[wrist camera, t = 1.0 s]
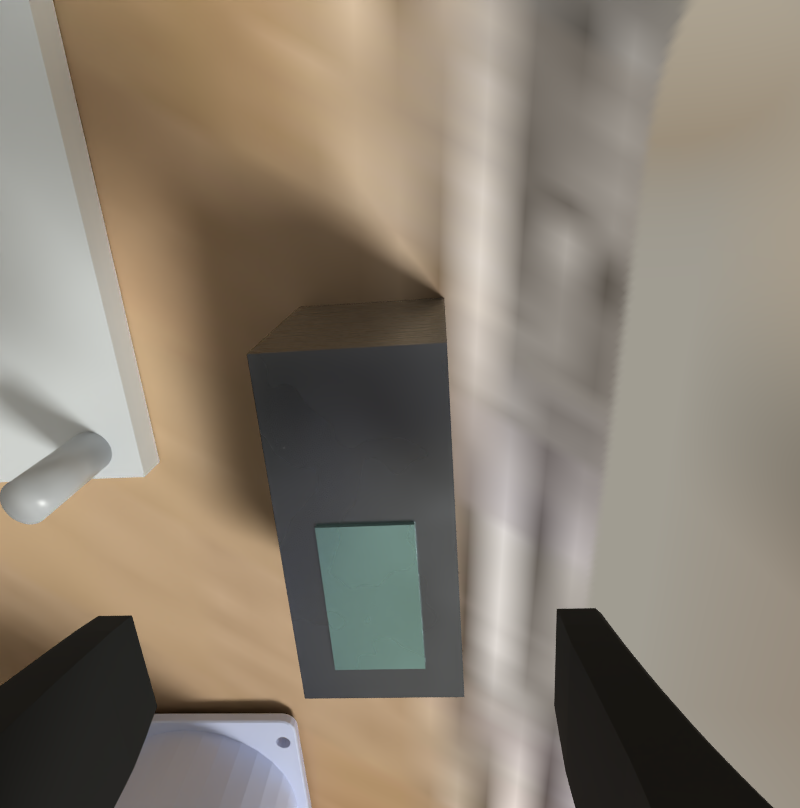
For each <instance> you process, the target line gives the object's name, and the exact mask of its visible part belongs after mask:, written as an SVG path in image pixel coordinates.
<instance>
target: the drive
mask: <svg viewBox="0 0 800 808" xmlns="http://www.w3.org/2000/svg"><path fill="white" fill-rule="evenodd" d="M247 358H248V364H249V370H250V376H251V382H252V388H253V393H254V399H255V405H256V411H257V417H258V423H259V429H260V435H261V441H262V447H263V453H264V459H265V464H266V470H267V476H268V482H269V488H270V494H271V500H272V506H273V512H274V518H275V524H276V530H277V536H278V541H279V547H280V553H281V559H282V565H283V571H284V577H285V583H286V589H287V595H288V601H289V607H290V612H291V618H292V624H293V630H294V636H295V642H296V648H297V654H298V660H299V666H300V672H301V678H302V683H303V689H304V695H305V699H306V698H404V697H464V682H463V662H462V642H461V621H460V601H459V581H458V560H457V540H456V520H455V499H454V479H453V459H452V439H451V418H450V398H449V378H448V357H447V338H446V322H445V305H444V298H434V299H418V300H402V301H387V302H371V303H356V304H340V305H324V306H309V307H299V308H298V309H297V310H296V311H295V312H293V313H292V314H291V315H290V316H289V317H288V318H287V319H286V320H285V321H283V322H282V323H281V324H280V325H279V326H278V327H277V328H276V329H274V330H273V331H272V332H271V333H270V334H269V335H268V336H267V337H266V338H264V339H263V340H262V341H261V342H260V343H259V344H258V345H257V346H256V347H254V348H253V349H252V350H251V351H250V352H249V353H248V354H247Z"/></svg>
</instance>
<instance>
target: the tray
mask: <svg viewBox="0 0 800 808" xmlns="http://www.w3.org/2000/svg"><path fill="white" fill-rule="evenodd" d="M159 462H160V461H159V457H158V452H157V448H156V444H155V439H154V435H153V431H152V426H151V422H150V418H149V413H148V409H147V405H146V400H145V396H144V392H143V387H142V383H141V379H140V375H139V370H138V366H137V362H136V357H135V353H134V349H133V344H132V340H131V336H130V331H129V327H128V323H127V318H126V314H125V310H124V305H123V301H122V297H121V292H120V288H119V284H118V279H117V275H116V271H115V267H114V262H113V258H112V254H111V249H110V245H109V241H108V236H107V232H106V228H105V223H104V219H103V215H102V210H101V206H100V202H99V197H98V193H97V189H96V184H95V180H94V176H93V172H92V167H91V163H90V159H89V154H88V150H87V146H86V141H85V137H84V133H83V128H82V124H81V120H80V115H79V111H78V107H77V102H76V98H75V94H74V89H73V85H72V81H71V76H70V72H69V68H68V64H67V59H66V55H65V51H64V46H63V42H62V38H61V33H60V29H59V25H58V20H57V16H56V12H55V7H54V3H53V0H0V482H9V483H7V484H6V485H5V486H4V487H3V488H2V490H1V492H0V502H1V505H2V507H3V509H4V510H5V512H6V513H7V514H8V515H9V516H10V517H12V518H13V519H15V520H16V521H18V522H21V523H24V524H36V523H39V522H41V521H43V520H44V519H45V518H46V517H47V516H48V515H50V514H51V513H52V512H53V511H54V510H56V509H57V508H58V507H59V506H60V505H61V504H63V503H64V502H65V501H66V500H67V499H68V498H70V497H71V496H72V495H73V494H74V493H75V492H77V491H78V490H79V489H80V488H81V487H82V486H84V485H85V484H86V483H87V482H88V481H89V480H91V479H98V478H125V477H145V476H146V475H147V474H148V473H149V472H150V471H151V470H152V469H153V468H154V467H155V466H156V465H157V464H158V463H159Z"/></svg>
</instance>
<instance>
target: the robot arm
mask: <svg viewBox="0 0 800 808" xmlns="http://www.w3.org/2000/svg"><path fill="white" fill-rule="evenodd" d="M554 706H555V712H556V718H557V724H558V730H559V736H560V742H561V748H562V753H563V759H564V765H565V770H566V774H567V778H568V782H569V786H570V789H571V793H572V797H573V800H574V804H575V808H773V807H772V806H771V805H770V804H769V803H768V802H767V801H766V800H765V799H764V798H763V797H762V796H761V795H760V794H759V793H758V792H757V791H756V790H755V789H754V788H753V787H751V785H750V784H749V783H748V782H747V781H746V780H745V779H744V778H743V777H741V775H740V774H739V773H738V772H737V771H736V770H735V769H734V768H733V767H732V766H731V765H730V764H729V763H728V762H727V761H726V760H725V759H724V758H723V757H722V756H721V755H720V754H719V753H718V752H717V751H716V749H715V748H714V747H713V746H712V745H711V744H710V743H709V742H708V741H707V740H706V739H705V738H704V737H703V736H702V735H701V733H700V732H699V731H698V730H697V729H696V728H695V727H694V726H693V725H692V724H691V723H690V721H689V720H688V719H687V718H686V717H685V716H684V714H683V713H682V712H681V711H680V710H679V709H678V708H677V707H676V705H675V704H674V703H673V702H672V701H671V700H670V699H669V697H668V696H667V695H666V694H665V693H664V692H663V691H662V689H661V688H660V687H659V686H658V685H657V684H656V682H655V681H654V680H653V679H652V678H651V676H650V675H649V674H648V673H647V672H646V670H645V669H644V668H643V667H642V665H641V664H640V663H639V662H638V660H637V659H636V658H635V657H634V656H633V654H632V653H631V652H630V651H629V649H628V648H627V647H626V646H625V644H624V643H623V642H622V640H621V639H620V638H619V636H618V635H617V634H616V633H615V631H614V630H613V629H612V627H611V626H610V625H609V623H608V622H607V621H606V620H605V618H604V617H603V615H602V614H601V613H600V612H599V611H598V610H597V609H595V608H585V609H557V624H556V663H555V702H554ZM156 708H157V704H156V701H155V697H154V693H153V690H152V686H151V683H150V679H149V675H148V672H147V668H146V665H145V661H144V657H143V654H142V650H141V647H140V643H139V640H138V636H137V632H136V629H135V625H134V622H133V618H132V616H98V617H96V618H95V619H93V620H92V621H90V622H89V623H87V624H86V625H84V626H83V627H81V628H80V629H78V630H77V631H75V632H74V633H72V634H71V635H70V636H68V637H67V638H65V639H64V640H63V641H61V642H60V643H59V644H57V645H56V646H54V647H53V648H52V649H50V650H49V651H48V652H46V653H45V654H43V655H42V656H41V657H39V658H38V659H37V660H35V661H34V662H33V663H31V664H30V665H28V666H27V667H26V668H24V669H23V670H22V671H20V672H19V673H18V674H16V675H15V676H13V677H12V678H11V679H9V680H8V681H7V682H5V683H4V684H2V685H1V686H0V808H312V807H311V801H310V795H309V789H308V784H307V778H306V772H305V766H304V760H303V755H302V749H301V743H300V737H299V731H298V726H297V722H296V720H295V719H294V718H293V717H292V716H290V715H288V714H283V713H229V714H155V711H156ZM283 737H285V738H283Z"/></svg>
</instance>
